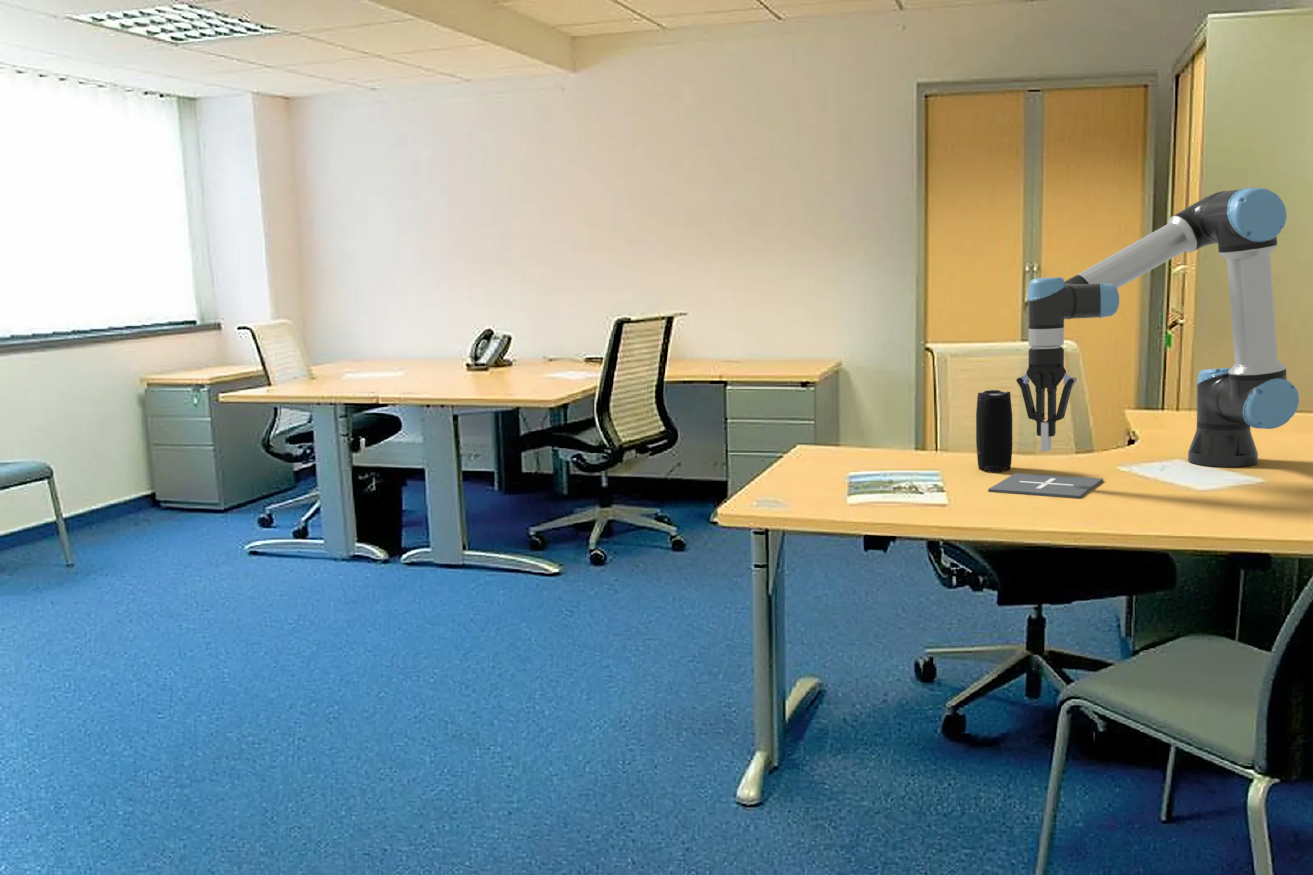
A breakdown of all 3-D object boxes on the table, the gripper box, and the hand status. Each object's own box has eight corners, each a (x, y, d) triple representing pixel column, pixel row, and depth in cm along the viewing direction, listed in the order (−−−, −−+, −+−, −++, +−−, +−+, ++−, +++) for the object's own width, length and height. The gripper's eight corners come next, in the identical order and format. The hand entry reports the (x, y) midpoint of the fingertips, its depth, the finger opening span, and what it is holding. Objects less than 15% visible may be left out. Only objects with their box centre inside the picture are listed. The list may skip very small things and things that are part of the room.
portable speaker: (978, 473, 267) (977, 394, 264) (975, 466, 277) (974, 390, 274) (1014, 472, 266) (1014, 393, 263) (1010, 465, 275) (1009, 388, 272)
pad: (1103, 480, 251) (1103, 478, 251) (1079, 498, 235) (1079, 495, 235) (1016, 475, 263) (1016, 472, 263) (988, 491, 247) (988, 488, 247)
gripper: (1080, 345, 243) (1080, 449, 247) (1022, 345, 251) (1022, 446, 255) (1071, 348, 237) (1071, 454, 241) (1011, 348, 245) (1012, 451, 249)
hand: (1046, 450), depth 248 cm, fingers closed
